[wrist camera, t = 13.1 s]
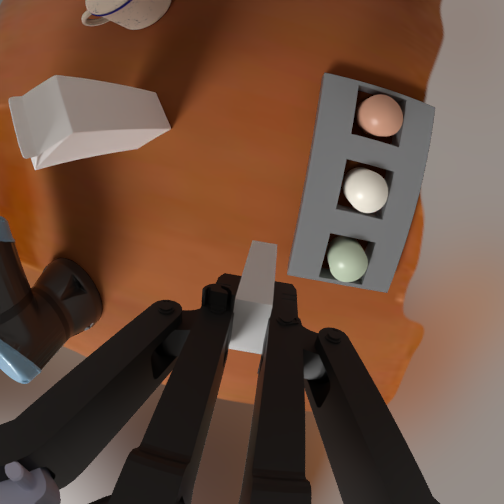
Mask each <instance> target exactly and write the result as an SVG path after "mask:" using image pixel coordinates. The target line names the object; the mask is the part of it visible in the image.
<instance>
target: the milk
mask: <svg viewBox="0 0 504 504" xmlns="http://www.w3.org/2000/svg"><path fill="white" fill-rule="evenodd" d="M9 106H10V111H11V115H12V120H13V124H14V128H15V132H16V136H17V140H18V143H19V147H20V150H21V154H22V156H23V157H24V158H31V160H32V163H33V166H34V169H35V170H38V169H41V168H45V167H49V166H53V165H57V164H61V163H65V162H70V161H74V160H79V159H83V158H88V157H93V156H98V155H103V154H109V153H115V152H121V151H127V150H133V149H138V148H140V147H141V146H143V145H144V144H146V143H148V142H149V141H151V140H153V139H154V138H156V137H158V136H160V135H161V134H163V133H165V132H167V131H168V130H170V129H171V127H170V124H169V122H168V120H167V117H166V115H165V113H164V110H163V108H162V106H161V103H160V101H159V99H158V96H157V94H156V93H155V92H152V91H147V90H143V89H139V88H134V87H129V86H125V85H120V84H114V83H109V82H103V81H97V80H91V79H84V78H77V77H69V76H61V75H55V76H53V77H51V78H49V79H48V80H46V81H44V82H43V83H41V84H40V85H38V86H37V87H35V88H33V89H32V90H30V91H29V92H27V93H26V94H25V95H23V96H19V97H11V98H10V99H9Z"/></svg>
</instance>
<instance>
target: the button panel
mask: <svg viewBox="0 0 504 504" xmlns="http://www.w3.org/2000/svg"><path fill="white" fill-rule="evenodd" d="M358 90H359V91H362V92H366V93H369V94H373V95H378V94H382V95H387V96H389V97H391V98H392V99H394V100H395V101H396V102H398V105H399V106H400V108H401V110H402V114H403V123H402V126H401V128H400V129H399V131H398V132H397V133H395V134H394V135H393V138H392V143H391V145H390V144H386V143H383V142H380V141H376V140H373V139H369V138H366V137H362V136H358V135H354V134H351V132H352V126H353V120H354V114H355V108H356V101H357V94H358ZM434 113H435V107H433V106H430V105H428V104H426V103H423V102H421V101H418V100H416V99H413V98H410V97H408V96H405V95H402V94H399V93H396V92H394V91H391V90H388V89H384V88H381V87H378V86H375V85H371V84H368V83H365V82H361V81H357V80H354V79H350V78H346V77H342V76H337V75H333V74H329V73H324V75H323V77H322V82H321V88H320V95H319V102H318V108H317V114H316V120H315V127H314V133H313V139H312V144H311V150H310V156H309V161H308V167H307V172H306V178H305V183H304V188H303V194H302V199H301V204H300V209H299V214H298V219H297V224H296V229H295V234H294V239H293V243H292V248H291V253H290V257H289V262H288V271H287V275H291V276H296V277H302V278H307V279H313V280H318V281H324V282H329V283H335V284H340V285H346V286H352V287H357V288H363V289H369V290H374V291H380V292H386V293H387V292H388V289H389V287H390V284H391V281H392V279H393V276H394V273H395V271H396V268H397V265H398V262H399V260H400V257H401V254H402V251H403V248H404V245H405V242H406V238H407V235H408V232H409V229H410V225H411V222H412V219H413V215H414V212H415V208H416V204H417V200H418V197H419V193H420V189H421V184H422V180H423V176H424V171H425V166H426V161H427V157H428V151H429V146H430V140H431V134H432V128H433V120H434ZM346 159H349V160H353V161H357V162H361V163H364V164H368V165H372V166H376V167H379V168H383V169H386V173H385V178H384V180H385V182H386V184H387V187H388V197H387V200H386V202H385V204H384V205H383V207H382V208H380V209H379V210H377V211H376V213H373V212H372V213H363V212H360V211H358V210H357V209H356V208H352V207H347V206H343V205H338V204H337V202H338V198H339V193H340V189H341V184H342V179H343V175H344V170H345V165H346ZM330 233H332V234H337V235H342V236H347V237H352V238H356V239H361V240H366V241H368V244H367V247H366V250H365V254H366V256H367V259H368V266H367V269H366V271H365V273H364V274H363V275H362V276H361V277H360V278H359V279H357V280H355V281H352V282H342V281H339V280H337V279H336V278H335V277H334V276H333V275H332V273H331V271H330V269H326V268H321V267H322V263H323V259H324V256H325V252H326V248H327V244H328V240H329V236H330Z"/></svg>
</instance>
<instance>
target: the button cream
mask: <svg viewBox="0 0 504 504" xmlns="http://www.w3.org/2000/svg"><path fill="white" fill-rule="evenodd" d="M342 190H343V193H344V195H345V197H346V198H347V199H348V201H349V202H350V203H351V204H352V205H353V207H354V208H356V209H357V210H358V211H360V212H363V213H372V212H375V211H377V210H379V209H380V208H382V207H383V205H384V204H385V202H386V200H387V197H388V187H387V184H386V182H385V180H384V179H383V177H382V176H381V175H379V174H378V173H376V172H373V171H371V170H369V169H367V168H363V167H357V168H354V169H352V170H350V171H349V172H348V173H347V174H346V175H345V177H344V179H343V182H342Z"/></svg>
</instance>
